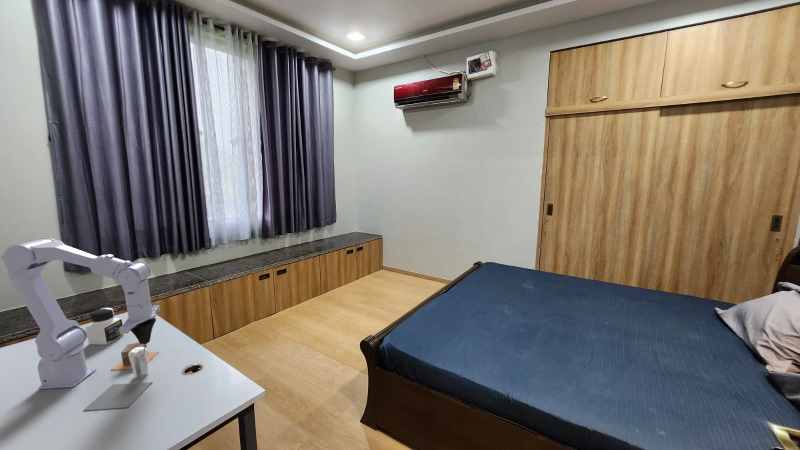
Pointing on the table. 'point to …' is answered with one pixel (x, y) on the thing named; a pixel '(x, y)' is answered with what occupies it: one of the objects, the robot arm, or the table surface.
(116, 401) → the tile slate
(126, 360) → the walnut block
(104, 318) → the medicine bottle
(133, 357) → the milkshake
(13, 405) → the table surface
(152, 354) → the tile terracotta
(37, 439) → the table surface
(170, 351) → the table surface
